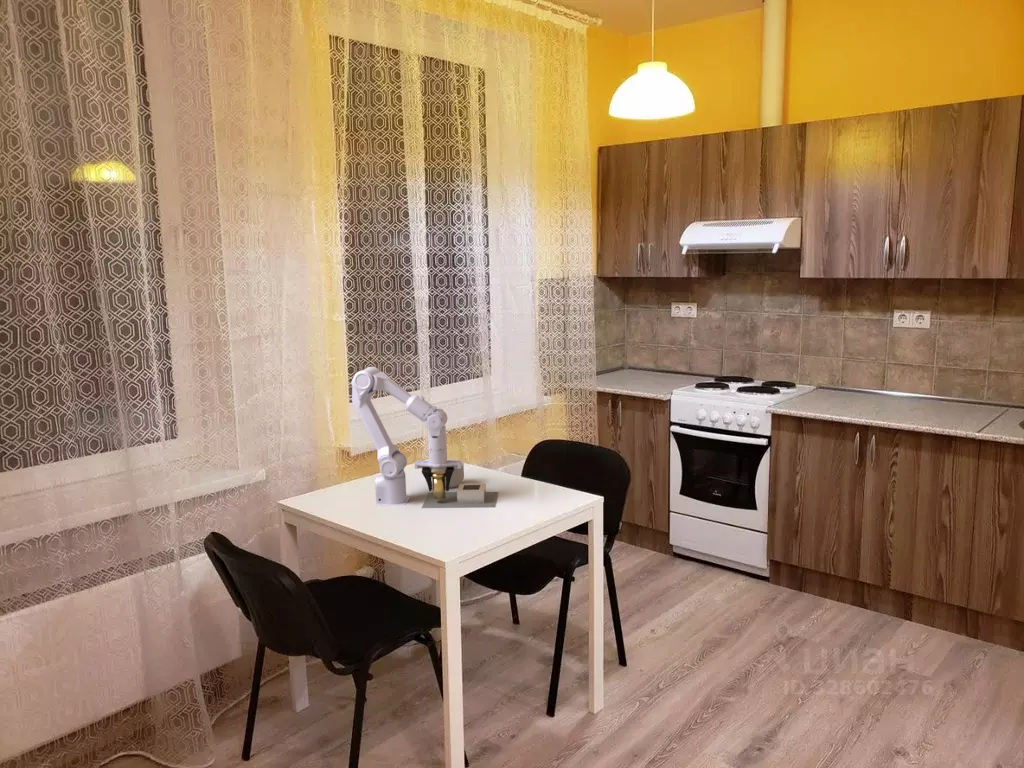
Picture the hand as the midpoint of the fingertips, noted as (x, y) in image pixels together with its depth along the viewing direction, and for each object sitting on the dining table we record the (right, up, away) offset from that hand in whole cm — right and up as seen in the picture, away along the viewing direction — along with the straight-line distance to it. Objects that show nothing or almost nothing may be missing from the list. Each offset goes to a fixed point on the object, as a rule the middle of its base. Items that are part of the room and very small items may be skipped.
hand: (439, 490), depth 241 cm
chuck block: (+10, -3, +3) cm, 11 cm away
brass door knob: (0, -2, 0) cm, 2 cm away
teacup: (0, -1, +20) cm, 20 cm away
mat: (+7, -4, +3) cm, 8 cm away
